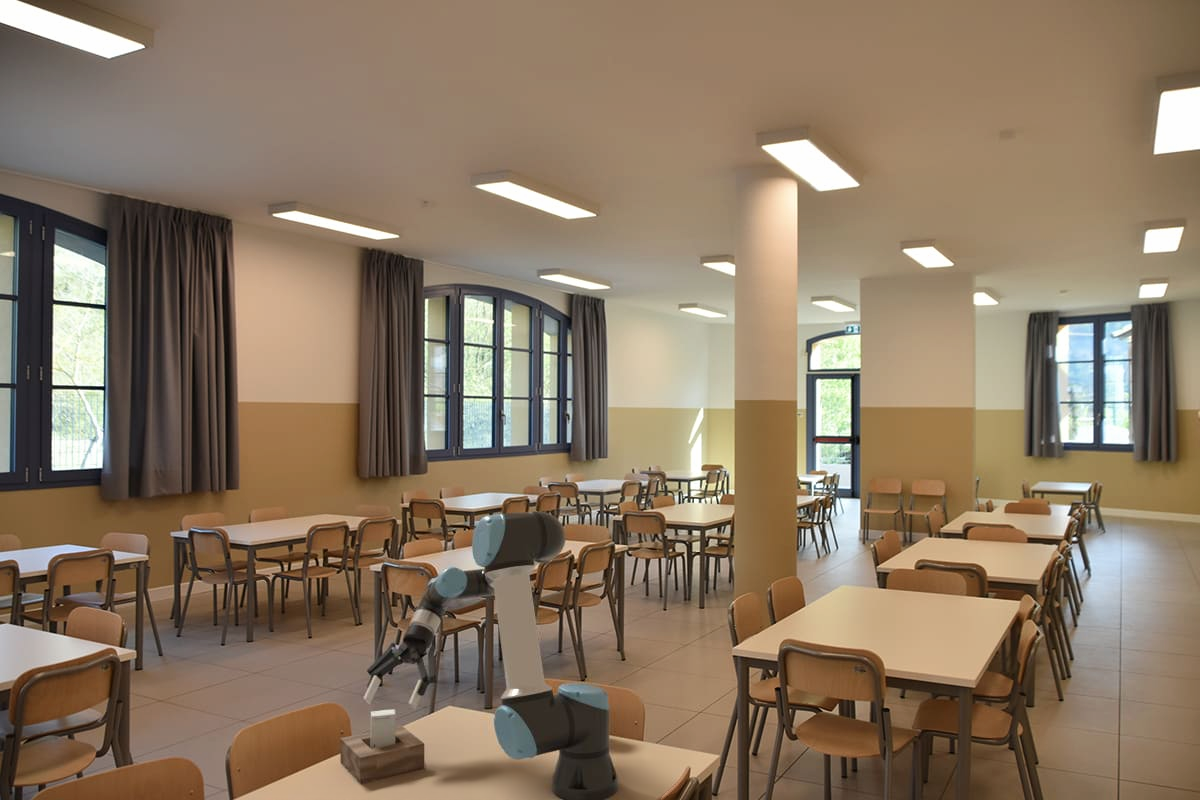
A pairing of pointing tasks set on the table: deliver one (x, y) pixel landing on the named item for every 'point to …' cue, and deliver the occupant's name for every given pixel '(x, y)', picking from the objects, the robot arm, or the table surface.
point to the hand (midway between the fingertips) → (389, 703)
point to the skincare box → (382, 728)
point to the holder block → (381, 755)
